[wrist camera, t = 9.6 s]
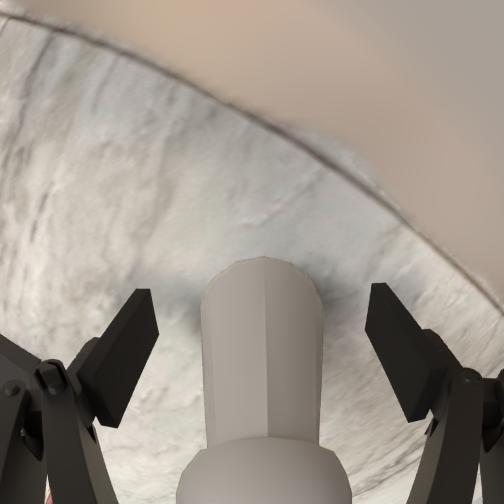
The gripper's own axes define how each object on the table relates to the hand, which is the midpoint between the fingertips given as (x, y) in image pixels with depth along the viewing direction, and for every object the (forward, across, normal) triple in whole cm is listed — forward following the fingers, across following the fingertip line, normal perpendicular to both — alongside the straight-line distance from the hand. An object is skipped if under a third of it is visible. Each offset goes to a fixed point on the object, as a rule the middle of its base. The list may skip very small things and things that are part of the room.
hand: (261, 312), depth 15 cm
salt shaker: (+2, 0, 0) cm, 2 cm away
